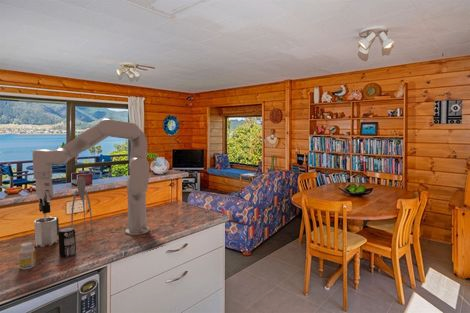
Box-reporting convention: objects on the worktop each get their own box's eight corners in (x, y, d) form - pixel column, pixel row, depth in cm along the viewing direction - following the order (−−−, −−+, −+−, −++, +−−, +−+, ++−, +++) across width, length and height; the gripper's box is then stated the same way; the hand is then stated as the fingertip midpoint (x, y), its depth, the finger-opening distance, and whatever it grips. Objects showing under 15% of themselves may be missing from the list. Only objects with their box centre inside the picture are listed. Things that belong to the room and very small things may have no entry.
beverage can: (63, 252, 134) (62, 226, 133) (78, 251, 134) (77, 226, 133) (56, 258, 127) (55, 231, 126) (72, 257, 128) (70, 231, 127)
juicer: (85, 231, 160) (83, 178, 157) (71, 230, 162) (69, 177, 159) (98, 225, 170) (96, 175, 167) (84, 224, 172) (82, 174, 169)
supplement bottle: (26, 270, 116) (24, 247, 115) (17, 268, 118) (15, 245, 117) (39, 264, 121) (38, 242, 120) (30, 262, 123) (29, 240, 122)
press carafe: (46, 247, 138) (45, 223, 137) (30, 246, 140) (29, 222, 139) (65, 238, 150) (64, 216, 149) (50, 237, 151) (49, 214, 150)
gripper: (57, 176, 138) (59, 213, 139) (46, 172, 149) (47, 207, 150) (39, 178, 132) (41, 217, 134) (28, 174, 143) (30, 210, 145)
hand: (44, 211), depth 142 cm, fingers closed on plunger, 4 cm apart
